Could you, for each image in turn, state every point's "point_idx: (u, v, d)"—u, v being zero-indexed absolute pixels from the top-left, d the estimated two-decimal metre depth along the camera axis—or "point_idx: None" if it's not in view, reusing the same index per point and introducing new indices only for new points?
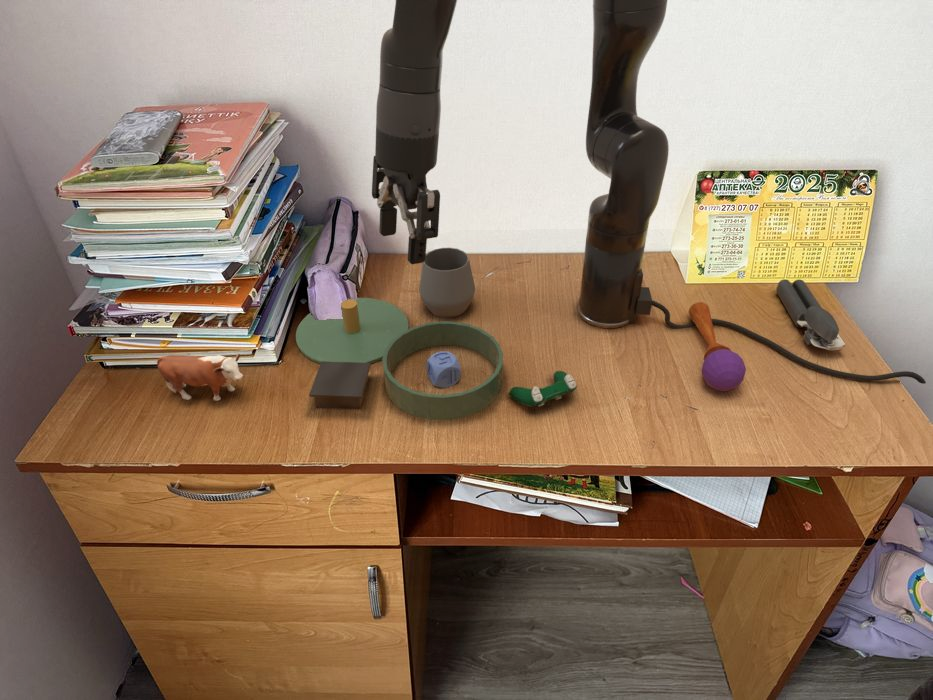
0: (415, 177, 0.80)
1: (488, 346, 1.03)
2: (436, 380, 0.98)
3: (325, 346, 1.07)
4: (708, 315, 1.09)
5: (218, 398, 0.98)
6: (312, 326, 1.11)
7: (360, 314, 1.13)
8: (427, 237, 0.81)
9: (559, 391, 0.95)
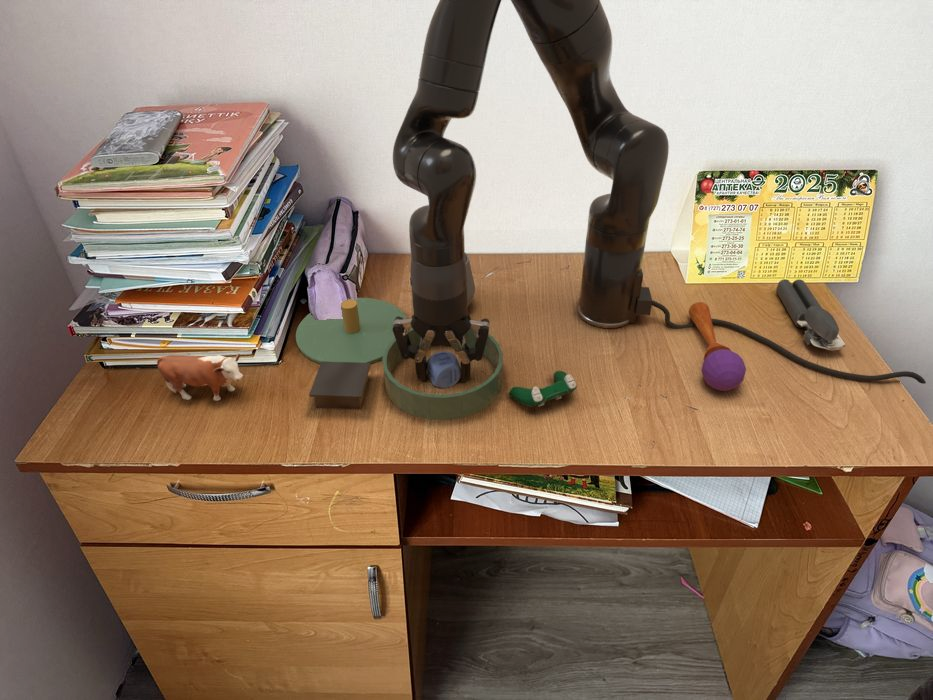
0: (467, 316, 0.93)
1: (488, 346, 1.03)
2: (436, 380, 0.98)
3: (325, 346, 1.07)
4: (708, 315, 1.09)
5: (218, 398, 0.98)
6: (312, 326, 1.11)
7: (360, 314, 1.13)
8: None
9: (559, 391, 0.95)
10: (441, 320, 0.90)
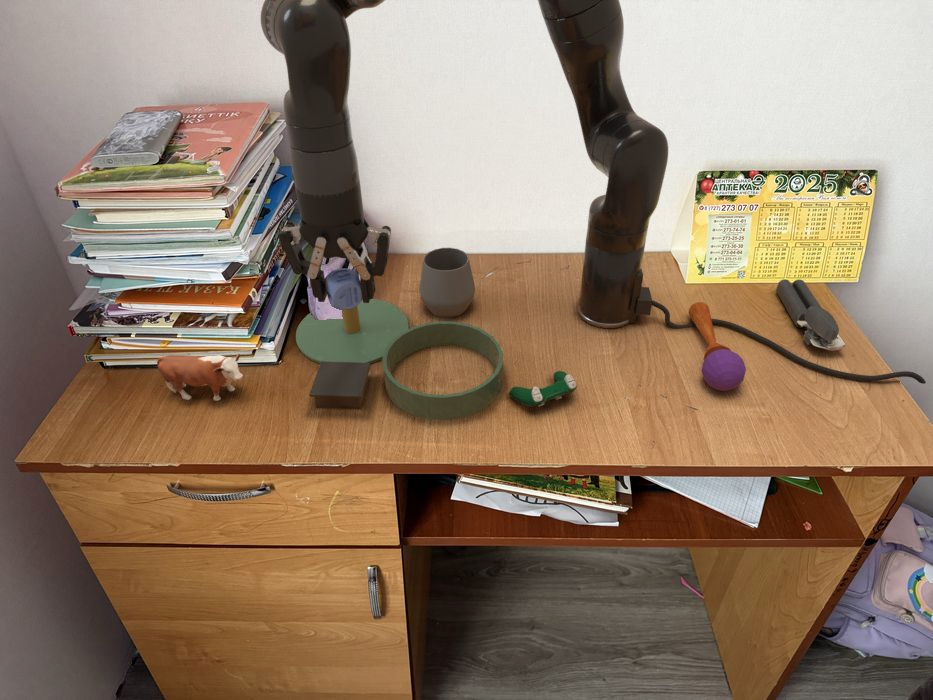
0: (362, 220, 0.81)
1: (488, 346, 1.03)
2: (333, 299, 0.86)
3: (325, 346, 1.07)
4: (708, 315, 1.09)
5: (218, 398, 0.98)
6: (312, 326, 1.11)
7: (360, 314, 1.13)
8: (384, 269, 0.85)
9: (559, 391, 0.95)
10: (328, 221, 0.78)
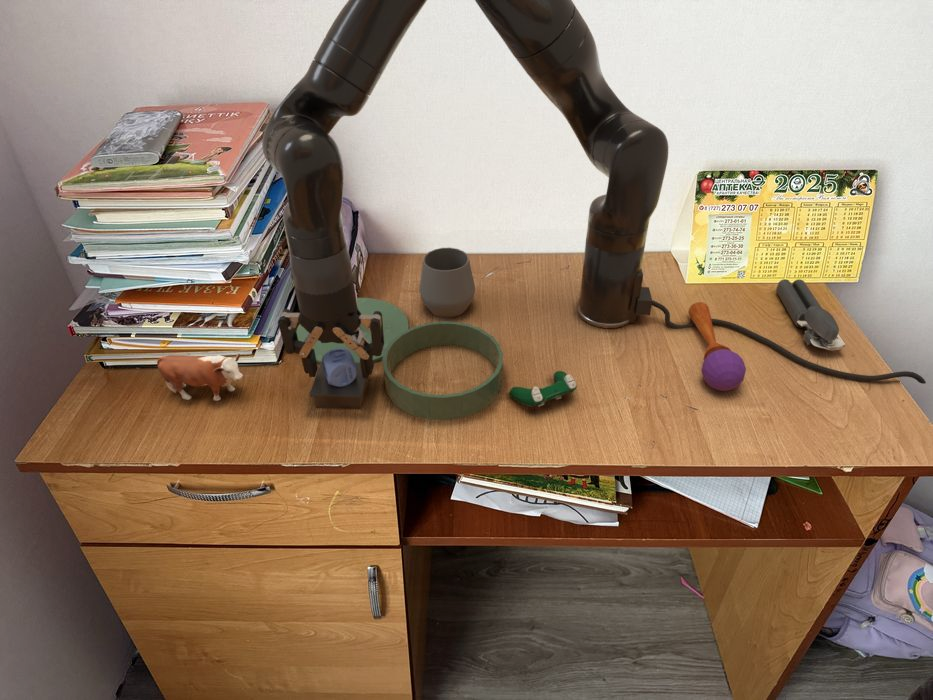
0: (355, 311, 0.89)
1: (488, 346, 1.03)
2: (329, 378, 0.94)
3: (325, 346, 1.07)
4: (708, 315, 1.09)
5: (218, 398, 0.98)
6: None
7: None
8: (382, 349, 0.93)
9: (559, 391, 0.95)
10: (324, 316, 0.86)
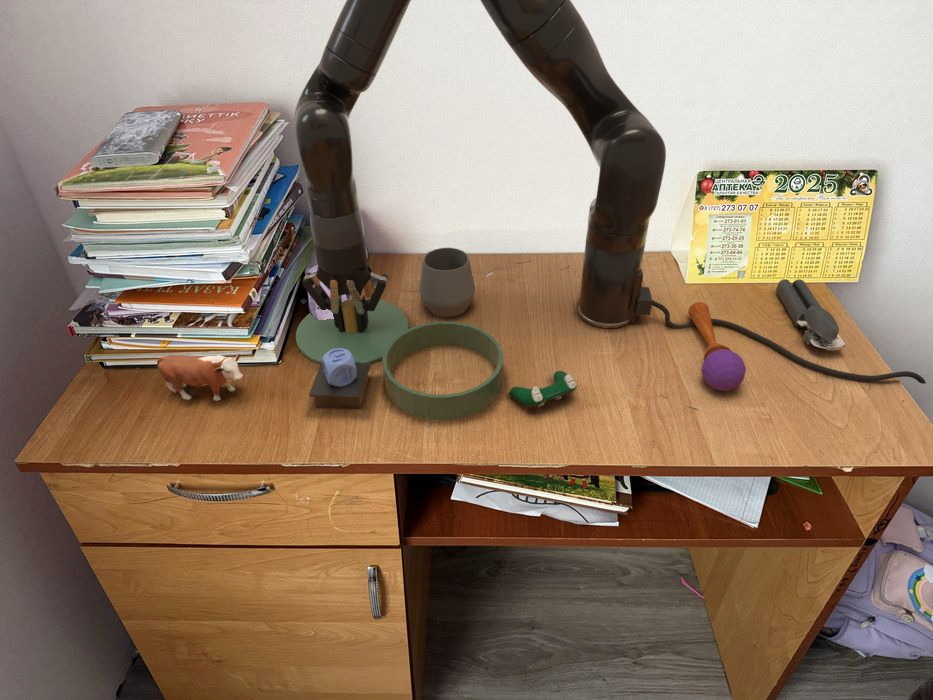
0: (366, 266, 1.02)
1: (488, 346, 1.03)
2: (329, 378, 0.94)
3: (325, 346, 1.07)
4: (708, 315, 1.09)
5: (218, 398, 0.98)
6: (312, 326, 1.11)
7: None
8: None
9: (559, 391, 0.95)
10: (339, 269, 0.99)
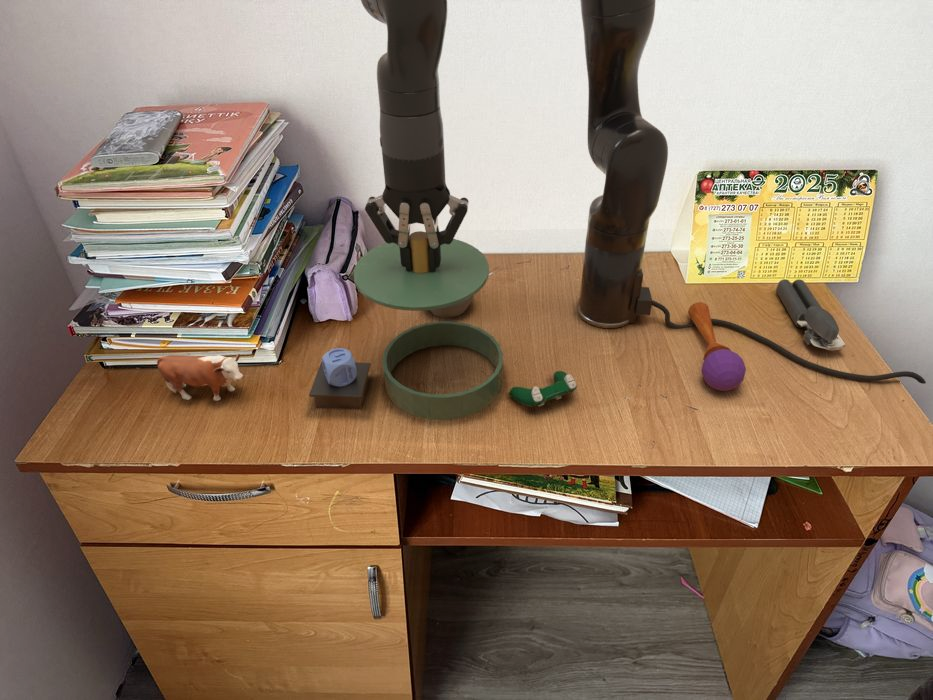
0: (444, 186, 0.83)
1: (488, 346, 1.03)
2: (329, 378, 0.94)
3: (391, 287, 0.88)
4: (708, 315, 1.09)
5: (218, 398, 0.98)
6: (372, 266, 0.92)
7: None
8: None
9: (559, 391, 0.95)
10: (415, 186, 0.80)
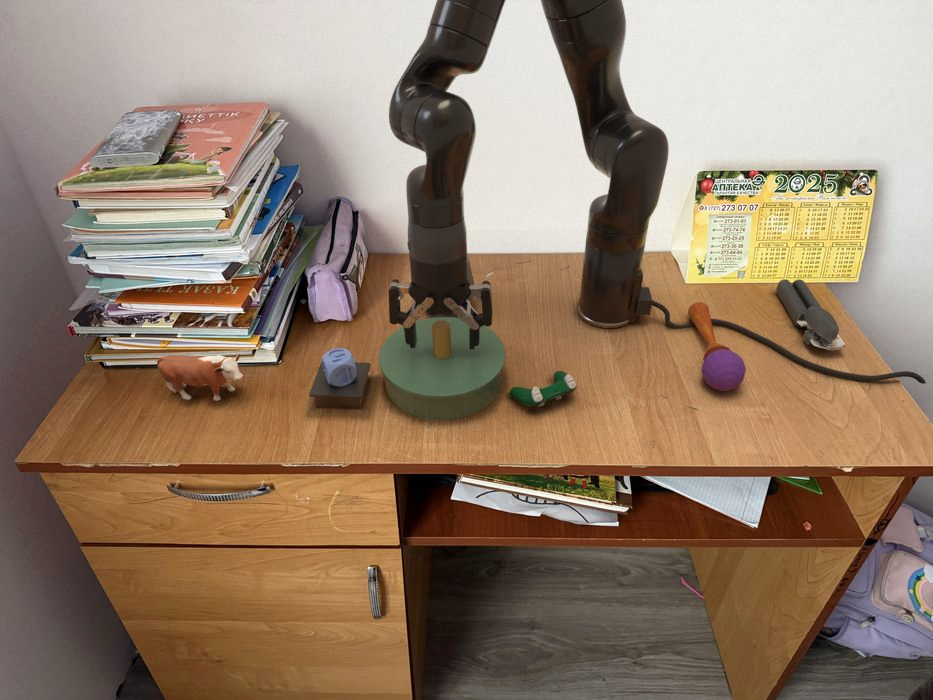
0: (466, 282, 0.90)
1: None
2: (329, 378, 0.94)
3: (415, 374, 0.94)
4: (707, 315, 1.09)
5: (218, 398, 0.98)
6: (396, 350, 0.99)
7: None
8: None
9: (559, 391, 0.95)
10: (440, 286, 0.86)
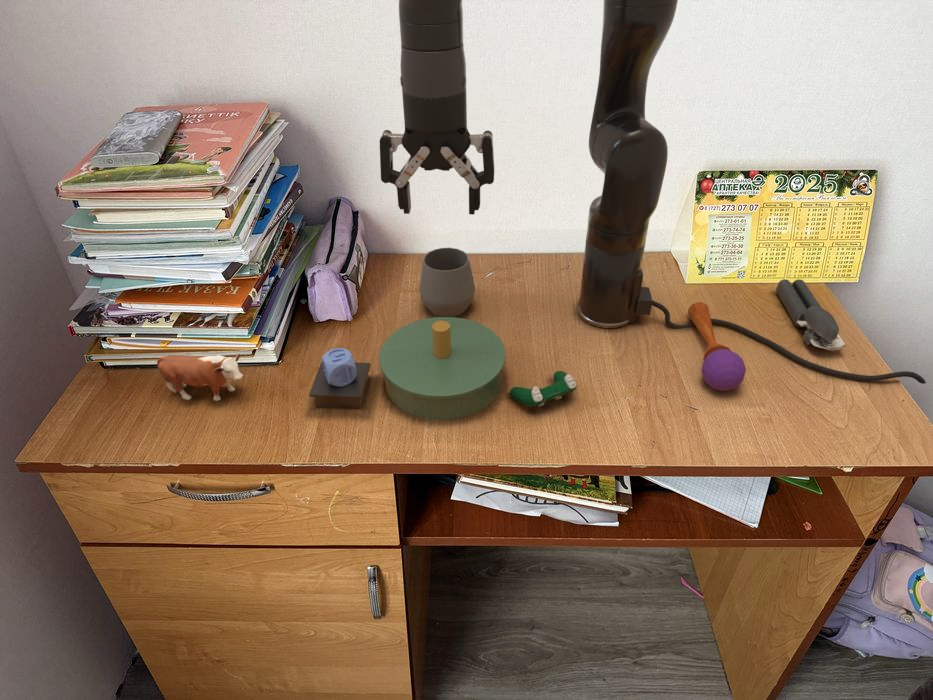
0: (466, 129, 0.81)
1: None
2: (329, 378, 0.94)
3: (415, 374, 0.94)
4: (707, 315, 1.09)
5: (218, 398, 0.98)
6: (396, 350, 0.99)
7: None
8: None
9: (559, 391, 0.95)
10: (436, 127, 0.78)
